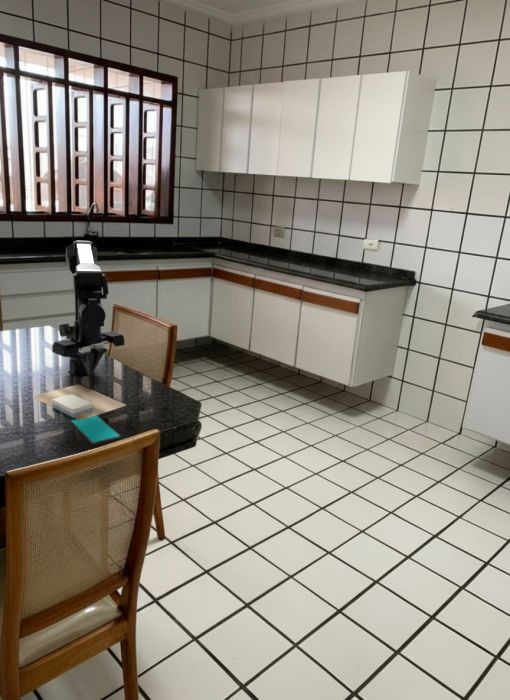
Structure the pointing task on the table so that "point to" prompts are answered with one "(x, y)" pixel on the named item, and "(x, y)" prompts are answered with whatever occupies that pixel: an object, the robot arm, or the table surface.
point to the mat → (98, 400)
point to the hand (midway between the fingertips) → (90, 374)
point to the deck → (72, 405)
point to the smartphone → (96, 430)
